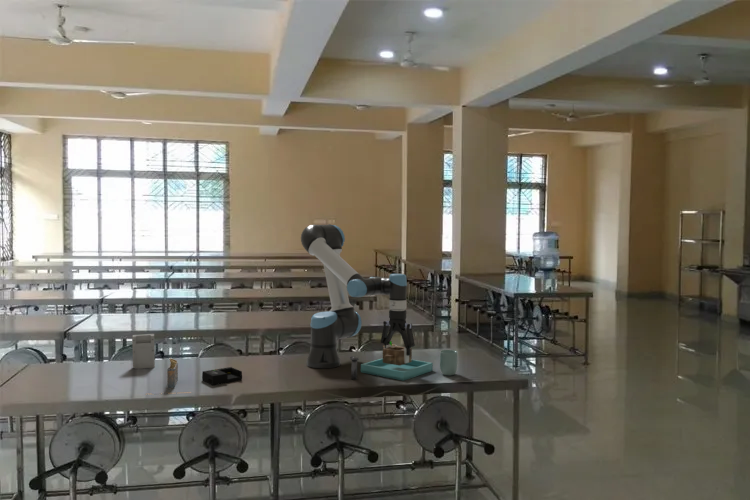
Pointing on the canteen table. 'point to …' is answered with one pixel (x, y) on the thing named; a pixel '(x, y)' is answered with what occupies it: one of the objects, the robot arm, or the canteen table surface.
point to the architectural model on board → (172, 375)
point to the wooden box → (395, 355)
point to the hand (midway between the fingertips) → (397, 361)
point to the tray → (397, 369)
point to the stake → (354, 367)
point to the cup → (448, 362)
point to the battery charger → (221, 376)
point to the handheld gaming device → (143, 351)
